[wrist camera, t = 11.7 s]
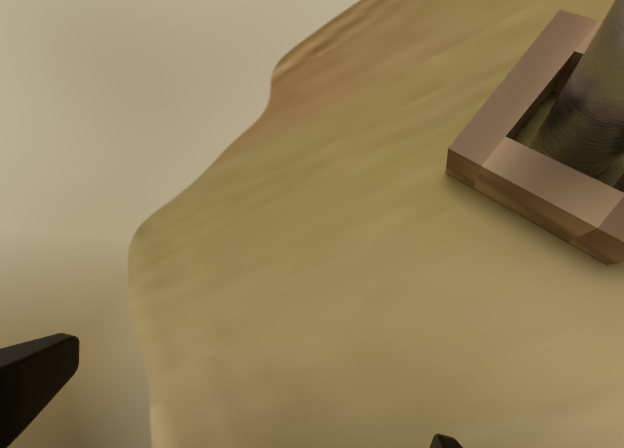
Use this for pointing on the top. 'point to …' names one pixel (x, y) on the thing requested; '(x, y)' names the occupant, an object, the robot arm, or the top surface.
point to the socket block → (531, 164)
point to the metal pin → (590, 105)
